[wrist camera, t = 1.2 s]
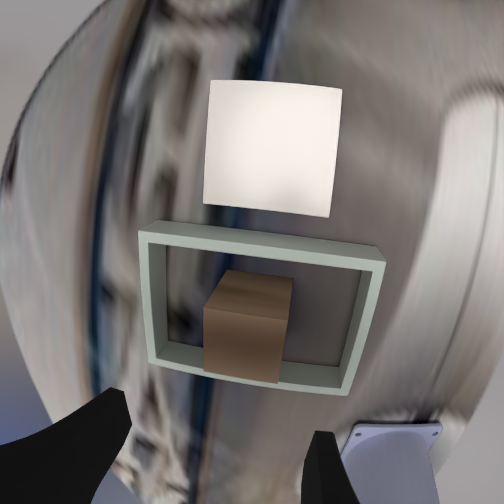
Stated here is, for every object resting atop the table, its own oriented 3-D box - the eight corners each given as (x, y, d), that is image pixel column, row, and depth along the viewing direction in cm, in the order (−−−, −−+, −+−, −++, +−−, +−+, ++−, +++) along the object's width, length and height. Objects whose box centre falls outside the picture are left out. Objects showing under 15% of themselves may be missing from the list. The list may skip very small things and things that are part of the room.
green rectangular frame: (345, 371, 21) (347, 395, 19) (162, 343, 23) (148, 363, 20) (376, 246, 18) (386, 261, 15) (157, 219, 19) (138, 230, 17)
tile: (328, 215, 18) (328, 217, 17) (205, 201, 19) (203, 203, 18) (341, 90, 15) (342, 89, 15) (213, 81, 16) (210, 80, 16)
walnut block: (285, 333, 21) (277, 383, 16) (225, 324, 21) (203, 371, 17) (293, 277, 19) (287, 320, 15) (227, 268, 20) (203, 307, 15)
